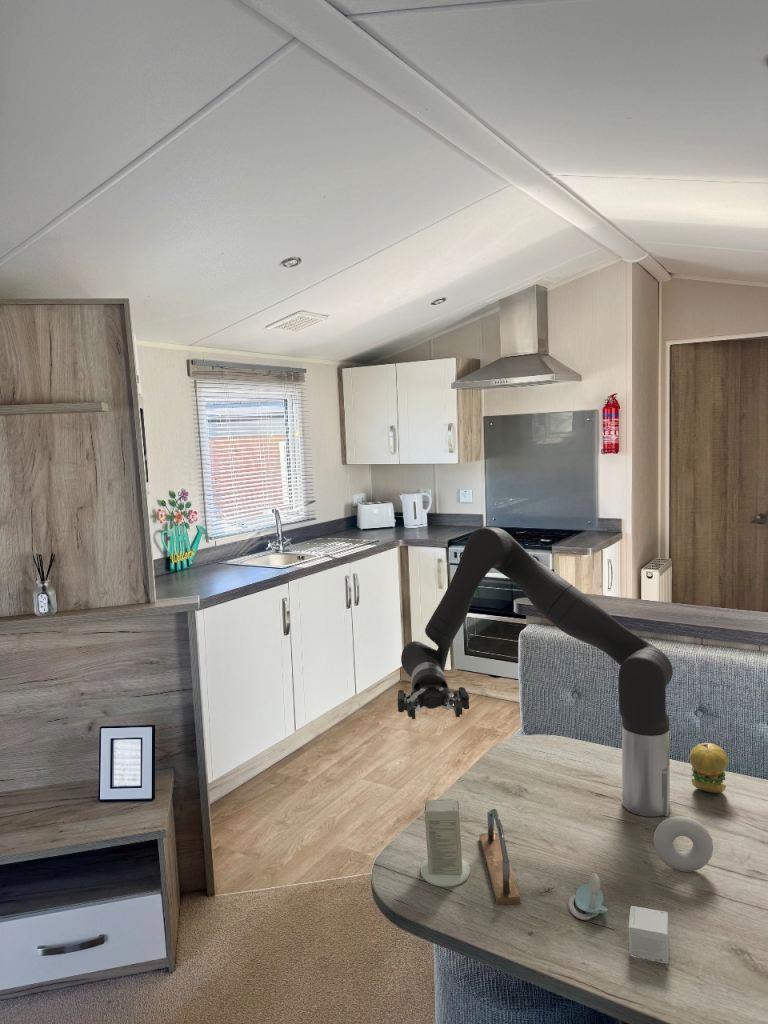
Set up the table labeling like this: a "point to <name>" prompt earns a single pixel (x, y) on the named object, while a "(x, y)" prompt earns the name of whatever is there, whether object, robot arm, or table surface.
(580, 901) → the pacifier
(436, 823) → the skincare box
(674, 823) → the donut
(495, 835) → the wood and metal stand
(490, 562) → the robot arm
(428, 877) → the glossy white rounded disc
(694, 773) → the hamburger
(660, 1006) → the table surface
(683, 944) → the table surface
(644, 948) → the small box
